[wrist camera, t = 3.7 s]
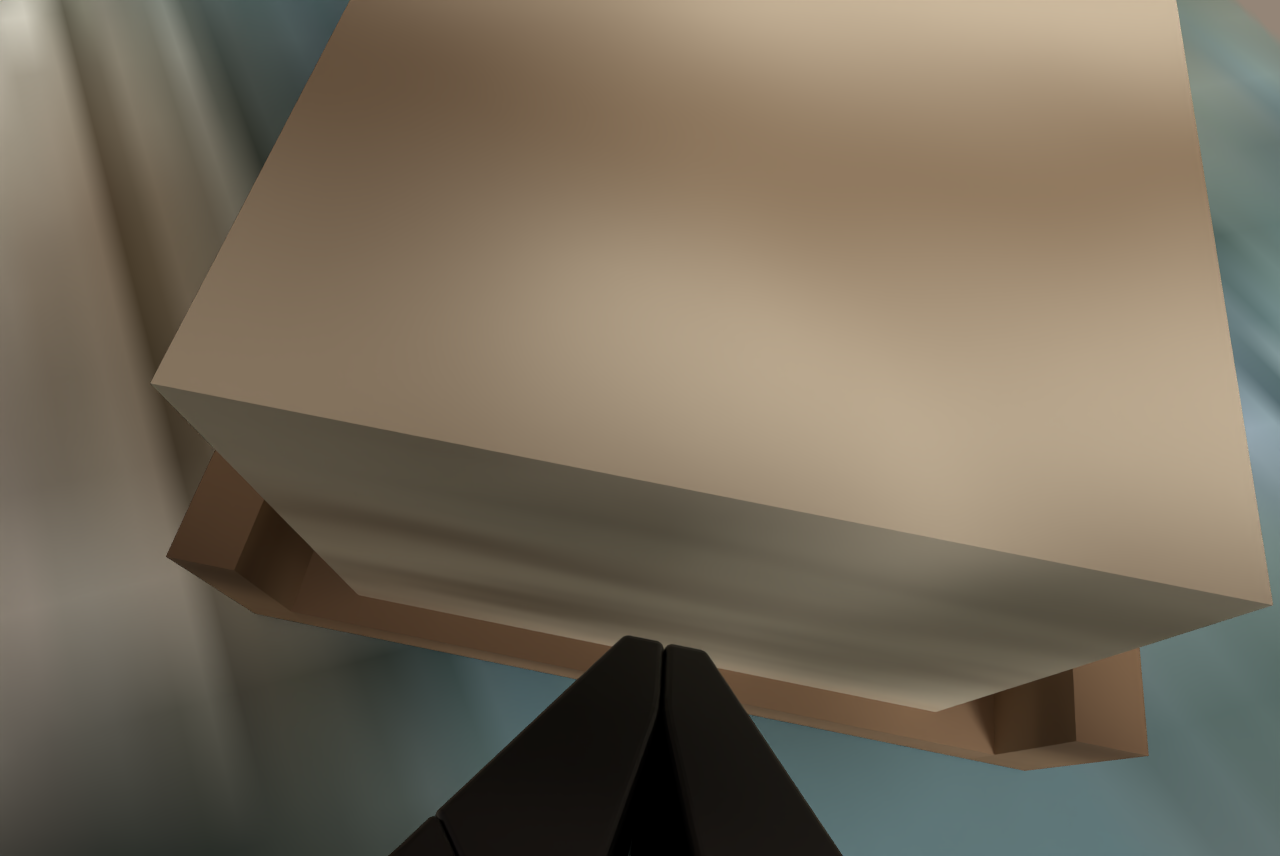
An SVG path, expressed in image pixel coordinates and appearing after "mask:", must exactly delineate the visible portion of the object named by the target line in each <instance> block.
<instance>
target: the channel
mask: <svg viewBox="0 0 1280 856" xmlns="http://www.w3.org/2000/svg"><path fill="white" fill-rule="evenodd" d="M166 557H167V558H169V559H171V560H172V561H174V562H175V563H177V564H178V565H180V566H181V567H183V568H185V569H186V570H188V571H189V572H191V573H192V574H194V575H196V576H197V577H199V578H200V579H202V580H203V581H205V582H206V583H208V584H210V585H211V586H213V587H214V588H216V589H217V590H219V591H220V592H222V593H224V594H225V595H227V596H228V597H230V598H231V599H233V600H234V601H236V602H238V603H239V604H241V605H242V606H244V607H245V608H247V609H249V610H250V611H252V612H253V613H255V614H260V615H265V616H269V617H274V618H279V619H284V620H289V621H294V622H299V623H304V624H309V625H314V626H318V627H323V628H328V629H333V630H338V631H343V632H348V633H353V634H358V635H363V636H367V637H372V638H377V639H382V640H387V641H392V642H397V643H402V644H407V645H412V646H416V647H421V648H426V649H431V650H436V651H441V652H446V653H451V654H456V655H461V656H465V657H470V658H475V659H480V660H485V661H490V662H495V663H500V664H505V665H510V666H514V667H519V668H524V669H529V670H534V671H539V672H544V673H549V674H554V675H559V676H564V677H568V678H573V679H578V678H579V677H580V676H581V675H582V674H583V673H585V672H586V671H587V670H588V669H589V668H590V667H591V666H592V665H593V664H594V663H595V662H596V661H597V660H598V659H599V658H600V657H602V656H603V655H604V654H605V653H606V652H607V651H608V650H609V649H610V648H611V647H612V646H607V645H602V644H597V643H592V642H587V641H582V640H578V639H573V638H568V637H563V636H558V635H553V634H548V633H543V632H538V631H533V630H528V629H523V628H518V627H513V626H509V625H504V624H499V623H494V622H489V621H484V620H479V619H474V618H469V617H464V616H459V615H454V614H449V613H444V612H439V611H435V610H430V609H425V608H420V607H415V606H410V605H405V604H400V603H395V602H390V601H385V600H380V599H375V598H370V597H366V596H361V595H358V594H357V593H356V592H355V591H354V590H353V589H352V588H351V587H350V586H349V585H348V584H347V583H346V582H345V581H344V580H343V579H342V578H341V577H340V576H339V575H338V574H337V573H336V572H335V571H334V570H333V569H332V568H331V567H330V566H329V565H328V564H327V563H326V562H325V561H324V560H323V559H322V558H321V557H320V556H319V555H318V554H317V553H316V552H315V551H314V550H313V549H312V548H311V547H310V545H309V544H308V543H307V542H306V541H305V540H304V539H303V538H302V537H301V536H300V535H299V534H298V533H297V532H296V531H295V530H294V529H293V528H292V527H291V526H290V525H289V524H288V523H287V522H286V521H285V520H284V519H283V518H282V517H281V516H280V515H279V514H278V513H277V512H276V511H275V510H274V509H273V508H272V507H271V506H270V505H269V504H268V503H267V502H266V501H265V500H264V499H263V498H262V497H261V496H260V495H259V494H258V493H257V492H256V491H255V489H254V488H253V487H252V486H251V485H250V484H249V483H248V482H247V481H246V480H245V479H244V478H243V477H242V476H241V475H240V474H239V473H238V472H237V471H236V470H235V469H234V468H233V467H232V466H231V465H230V464H229V463H228V462H227V461H226V460H225V459H224V458H223V457H222V456H221V455H220V454H219V453H218V452H217V451H216V450H215V451H214V453H213V456H212V458H211V460H210V462H209V464H208V466H207V469H206V471H205V473H204V475H203V477H202V479H201V482H200V484H199V486H198V488H197V490H196V492H195V495H194V497H193V499H192V501H191V503H190V505H189V508H188V510H187V512H186V514H185V516H184V518H183V521H182V523H181V525H180V527H179V529H178V531H177V534H176V536H175V538H174V540H173V542H172V544H171V547H170V549H169V551H168V553H167V555H166ZM718 670H719V671H720V673H721V674H722V676H723V677H724V679H725V680H726V682H727V683H728V685H729V686H730V688H731V689H732V691H733V692H734V694H735V695H736V697H737V698H738V700H739V701H740V703H741V704H742V706H743V707H744V709H745V710H746V712H747V713H748V714H750V715H755V716H760V717H764V718H769V719H774V720H779V721H784V722H789V723H794V724H799V725H804V726H809V727H814V728H818V729H823V730H828V731H833V732H838V733H843V734H848V735H853V736H858V737H863V738H867V739H872V740H877V741H882V742H887V743H892V744H897V745H902V746H907V747H912V748H916V749H921V750H926V751H931V752H936V753H941V754H946V755H951V756H956V757H961V758H965V759H970V760H975V761H980V762H985V763H990V764H995V765H1000V766H1005V767H1010V768H1014V769H1019V770H1024V771H1027V770H1035V769H1043V768H1052V767H1060V766H1068V765H1077V764H1085V763H1093V762H1101V761H1110V760H1118V759H1126V758H1135V757H1143V756H1149V755H1148V743H1147V731H1146V719H1145V707H1144V696H1143V684H1142V672H1141V660H1140V648H1136V649H1133V650H1130V651H1127V652H1123V653H1120V654H1117V655H1114V656H1111V657H1108V658H1104V659H1101V660H1098V661H1095V662H1092V663H1089V664H1086V665H1082V666H1079V667H1076V668H1073V669H1070V670H1067V671H1063V672H1060V673H1057V674H1054V675H1051V676H1048V677H1045V678H1041V679H1038V680H1035V681H1032V682H1029V683H1026V684H1023V685H1019V686H1016V687H1013V688H1010V689H1007V690H1004V691H1000V692H997V693H994V694H991V695H988V696H985V697H982V698H978V699H975V700H972V701H969V702H966V703H963V704H959V705H956V706H953V707H950V708H947V709H944V710H941V711H937V712H933V711H928V710H923V709H918V708H913V707H908V706H903V705H898V704H893V703H888V702H883V701H878V700H873V699H868V698H864V697H859V696H854V695H849V694H844V693H839V692H834V691H829V690H824V689H819V688H814V687H809V686H804V685H799V684H795V683H790V682H785V681H780V680H775V679H770V678H765V677H760V676H755V675H750V674H745V673H740V672H735V671H730V670H725V669H721V668H718Z"/></svg>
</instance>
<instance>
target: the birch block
mask: <svg viewBox="0 0 1280 856" xmlns="http://www.w3.org/2000/svg"><path fill="white" fill-rule="evenodd" d="M150 384H151V385H152V386H153V387H154V388H155V389H156V390H157V391H158V392H159V393H160V394H161V395H162V396H163V397H164V398H165V399H166V400H167V401H168V402H169V403H170V404H171V405H172V406H173V407H174V408H175V409H176V410H177V411H178V412H179V413H180V414H181V415H182V416H183V417H184V418H185V419H186V420H187V421H188V422H189V423H190V424H191V425H192V426H193V427H194V428H195V429H196V430H197V431H198V432H199V433H200V434H201V436H202V437H203V438H204V439H205V440H206V441H207V442H208V443H209V444H210V445H211V446H212V447H213V448H214V449H215V450H216V451H217V452H218V453H219V454H220V455H221V456H222V457H223V458H224V459H225V460H226V461H227V462H228V463H229V464H230V465H231V466H232V467H233V468H234V469H235V470H236V471H237V472H238V473H239V474H240V475H241V476H242V477H243V478H244V479H245V480H246V481H247V482H248V483H249V484H250V485H251V486H252V487H253V488H254V489H255V491H256V492H257V493H258V494H259V495H260V496H261V497H262V498H263V499H264V500H265V501H266V502H267V503H268V504H269V505H270V506H271V507H272V508H273V509H274V510H275V511H276V512H277V513H278V514H279V515H280V516H281V517H282V518H283V519H284V520H285V521H286V522H287V523H288V524H289V525H290V526H291V527H292V528H293V529H294V530H295V531H296V532H297V533H298V534H299V535H300V536H301V537H302V538H303V539H304V540H305V541H306V542H307V543H308V544H309V545H310V547H311V548H312V549H313V550H314V551H315V552H316V553H317V554H318V555H319V556H320V557H321V558H322V559H323V560H324V561H325V562H326V563H327V564H328V565H329V566H330V567H331V568H332V569H333V570H334V571H335V572H336V573H337V574H338V575H339V576H340V577H341V578H342V579H343V580H344V581H345V582H346V583H347V584H348V585H349V586H350V587H351V588H352V589H353V590H354V591H355V592H356V593H357V594H358V595H361V596H366V597H370V598H375V599H380V600H385V601H390V602H395V603H400V604H405V605H410V606H415V607H420V608H425V609H430V610H435V611H439V612H444V613H449V614H454V615H459V616H464V617H469V618H474V619H479V620H484V621H489V622H494V623H499V624H504V625H509V626H513V627H518V628H523V629H528V630H533V631H538V632H543V633H548V634H553V635H558V636H563V637H568V638H573V639H578V640H582V641H587V642H592V643H597V644H602V645H607V646H613V645H614V644H615V643H616V642H618V641H619V640H620V639H621V638H622V637H623V636H626V635H631V636H636V637H641V638H645V639H650V640H655V641H659V642H660V643H661V644H662V645H663V647H664V649H665V647H666V646H667V645H669V644H675V645H680V646H685V647H691V648H696V649H701V650H703V651H705V652H706V653H707V654H708V655H709V656H710V658H711V659H712V661H713V662H714V664H715V665H716V667H717V668H721V669H725V670H730V671H735V672H740V673H745V674H750V675H755V676H760V677H765V678H770V679H775V680H780V681H785V682H790V683H795V684H799V685H804V686H809V687H814V688H819V689H824V690H829V691H834V692H839V693H844V694H849V695H854V696H859V697H864V698H868V699H873V700H878V701H883V702H888V703H893V704H898V705H903V706H908V707H913V708H918V709H923V710H928V711H933V712H937V711H941V710H944V709H947V708H950V707H953V706H956V705H959V704H963V703H966V702H969V701H972V700H975V699H978V698H982V697H985V696H988V695H991V694H994V693H997V692H1000V691H1004V690H1007V689H1010V688H1013V687H1016V686H1019V685H1023V684H1026V683H1029V682H1032V681H1035V680H1038V679H1041V678H1045V677H1048V676H1051V675H1054V674H1057V673H1060V672H1063V671H1067V670H1070V669H1073V668H1076V667H1079V666H1082V665H1086V664H1089V663H1092V662H1095V661H1098V660H1101V659H1104V658H1108V657H1111V656H1114V655H1117V654H1120V653H1123V652H1127V651H1130V650H1133V649H1136V648H1139V647H1142V646H1145V645H1149V644H1152V643H1155V642H1158V641H1161V640H1164V639H1168V638H1171V637H1174V636H1177V635H1180V634H1183V633H1186V632H1190V631H1193V630H1196V629H1199V628H1202V627H1205V626H1209V625H1212V624H1215V623H1218V622H1221V621H1224V620H1227V619H1231V618H1234V617H1237V616H1240V615H1243V614H1246V613H1250V612H1253V611H1256V610H1259V609H1262V608H1265V607H1268V606H1272V605H1273V602H1272V596H1271V589H1270V583H1269V577H1268V571H1267V564H1266V558H1265V552H1264V546H1263V539H1262V533H1261V527H1260V521H1259V514H1258V508H1257V502H1256V496H1255V489H1254V483H1253V477H1252V471H1251V465H1250V458H1249V452H1248V446H1247V440H1246V433H1245V427H1244V421H1243V415H1242V408H1241V402H1240V396H1239V390H1238V383H1237V377H1236V371H1235V365H1234V358H1233V352H1232V346H1231V340H1230V333H1229V327H1228V321H1227V315H1226V309H1225V302H1224V296H1223V290H1222V284H1221V277H1220V271H1219V265H1218V259H1217V252H1216V246H1215V240H1214V234H1213V227H1212V221H1211V215H1210V209H1209V202H1208V196H1207V190H1206V184H1205V177H1204V171H1203V165H1202V159H1201V153H1200V146H1199V140H1198V134H1197V128H1196V121H1195V115H1194V109H1193V103H1192V96H1191V90H1190V84H1189V78H1188V71H1187V65H1186V59H1185V53H1184V46H1183V40H1182V34H1181V28H1180V22H1179V15H1178V9H1177V3H1176V0H350V1H349V3H348V5H347V7H346V9H345V11H344V12H343V14H342V16H341V18H340V20H339V22H338V24H337V26H336V28H335V30H334V32H333V34H332V35H331V37H330V39H329V41H328V43H327V45H326V47H325V49H324V51H323V53H322V55H321V57H320V58H319V60H318V62H317V64H316V66H315V68H314V70H313V72H312V74H311V76H310V78H309V80H308V82H307V83H306V85H305V87H304V89H303V91H302V93H301V95H300V97H299V99H298V101H297V103H296V105H295V106H294V108H293V110H292V112H291V114H290V116H289V118H288V120H287V122H286V124H285V126H284V128H283V129H282V131H281V133H280V135H279V137H278V139H277V141H276V143H275V145H274V147H273V149H272V151H271V152H270V154H269V156H268V158H267V160H266V162H265V164H264V166H263V168H262V170H261V172H260V174H259V176H258V177H257V179H256V181H255V183H254V185H253V187H252V189H251V191H250V193H249V195H248V197H247V199H246V200H245V202H244V204H243V206H242V208H241V210H240V212H239V214H238V216H237V218H236V220H235V222H234V223H233V225H232V227H231V229H230V231H229V233H228V235H227V237H226V239H225V241H224V243H223V245H222V247H221V248H220V250H219V252H218V254H217V256H216V258H215V260H214V262H213V264H212V266H211V268H210V270H209V271H208V273H207V275H206V277H205V279H204V281H203V283H202V285H201V287H200V289H199V291H198V293H197V294H196V296H195V298H194V300H193V302H192V304H191V306H190V308H189V310H188V312H187V314H186V316H185V317H184V319H183V321H182V323H181V325H180V327H179V329H178V331H177V333H176V335H175V337H174V339H173V341H172V342H171V344H170V346H169V348H168V350H167V352H166V354H165V356H164V358H163V360H162V362H161V364H160V365H159V367H158V369H157V371H156V373H155V375H154V377H153V379H152V381H151V383H150Z"/></svg>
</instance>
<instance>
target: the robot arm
mask: <svg viewBox="0 0 1280 856" xmlns="http://www.w3.org/2000/svg"><path fill="white" fill-rule="evenodd" d="M389 856H843V855H842V854H841V852H840V851H839V849H838V848H837V846H836V845H835V843H834V842H833V840H832V839H831V837H830V836H829V834H828V833H827V831H826V830H825V828H824V827H823V826H822V824H821V823H820V821H819V820H818V818H817V817H816V815H815V814H814V812H813V811H812V809H811V808H810V806H809V805H808V803H807V802H806V800H805V799H804V797H803V796H802V794H801V793H800V791H799V790H798V788H797V787H796V785H795V784H794V782H793V781H792V779H791V778H790V776H789V775H788V773H787V772H786V770H785V769H784V767H783V766H782V764H781V763H780V761H779V760H778V758H777V757H776V755H775V754H774V752H773V751H772V749H771V748H770V746H769V745H768V743H767V742H766V740H765V739H764V737H763V736H762V734H761V733H760V731H759V730H758V728H757V727H756V725H755V724H754V722H753V721H752V719H751V718H750V716H749V715H748V713H747V712H746V710H745V709H744V707H743V706H742V704H741V703H740V701H739V700H738V698H737V697H736V695H735V694H734V692H733V691H732V689H731V688H730V686H729V685H728V683H727V682H726V680H725V679H724V677H723V676H722V674H721V673H720V671H719V670H718V668H717V667H716V665H715V664H714V662H713V661H712V659H711V658H710V656H709V655H708V654H707V653H706V652H705V651H703V650H701V649H696V648H691V647H685V646H680V645H675V644H669V645H667V646H666V647H665V649H664V647H663V645H662V644H661V643H660V642H659V641H655V640H650V639H645V638H641V637H636V636H631V635H626V636H623V637H622V638H621V639H620V640H619V641H618V642H616V643H615V644H614V645H613V646H612V647H611V648H610V649H609V650H608V651H607V652H606V653H605V654H604V655H603V656H602V657H600V658H599V659H598V660H597V661H596V662H595V663H594V664H593V665H592V666H591V667H590V668H589V669H588V670H587V671H586V672H585V673H583V674H582V675H581V676H580V677H579V678H578V679H577V680H576V681H575V682H574V683H573V684H572V685H571V686H570V687H569V688H567V689H566V690H565V691H564V692H563V693H562V694H561V695H560V696H559V697H558V698H557V699H556V700H555V701H554V702H553V703H552V704H550V705H549V706H548V707H547V708H546V709H545V710H544V711H543V712H542V713H541V714H540V715H539V716H538V717H537V718H536V719H535V720H533V721H532V722H531V723H530V724H529V725H528V726H527V727H526V728H525V729H524V730H523V731H522V732H521V733H520V734H519V735H517V736H516V737H515V738H514V739H513V740H512V741H511V742H510V743H509V744H508V745H507V746H506V747H505V748H504V749H503V750H502V751H500V752H499V753H498V754H497V755H496V756H495V757H494V758H493V759H492V760H491V761H490V762H489V763H488V764H487V765H486V766H484V767H483V768H482V769H481V770H480V771H479V772H478V773H477V774H476V775H475V776H474V777H473V778H472V779H471V780H470V781H469V782H467V783H466V784H465V785H464V786H463V787H462V788H461V789H460V790H459V791H458V792H457V793H456V794H455V795H454V796H453V797H451V798H450V799H449V800H448V801H447V802H446V803H445V804H444V805H443V806H442V807H441V808H440V809H439V810H438V811H437V812H436V815H435V816H432V817H430V818H428V819H427V820H426V821H425V822H424V823H423V824H422V825H421V826H420V827H419V828H418V829H417V830H416V831H415V832H414V833H413V834H412V835H410V836H409V837H408V838H407V839H406V840H405V841H404V842H403V843H402V844H401V845H400V846H399V847H398V848H397V849H395V850H394V851H393V852H392V853H391V854H390V855H389Z"/></svg>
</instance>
